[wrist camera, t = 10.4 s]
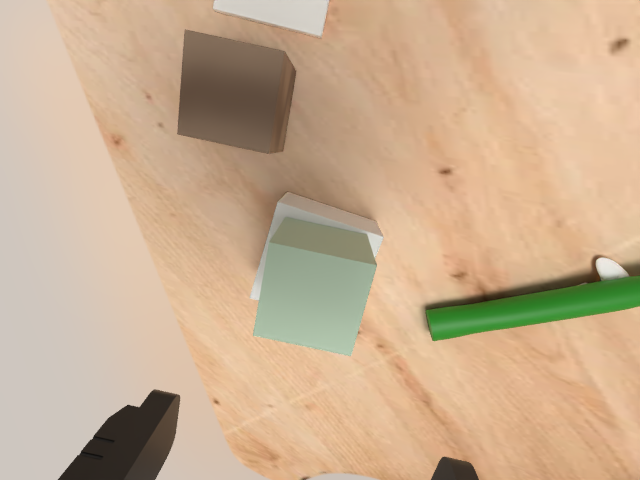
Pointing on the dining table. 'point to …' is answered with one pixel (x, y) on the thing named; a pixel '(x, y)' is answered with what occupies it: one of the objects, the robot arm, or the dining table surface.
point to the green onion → (540, 305)
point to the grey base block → (318, 214)
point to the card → (280, 13)
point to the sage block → (315, 286)
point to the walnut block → (235, 93)
